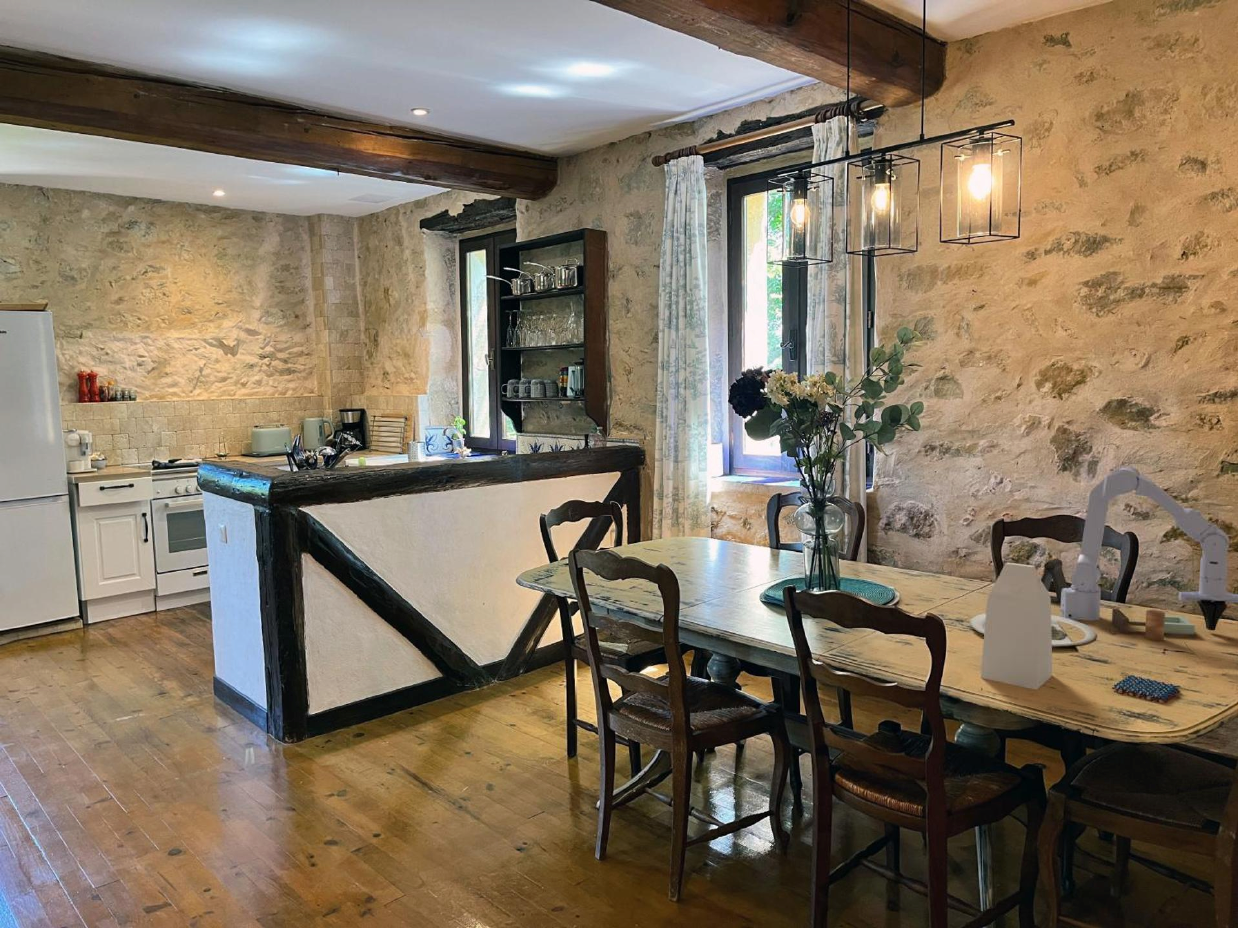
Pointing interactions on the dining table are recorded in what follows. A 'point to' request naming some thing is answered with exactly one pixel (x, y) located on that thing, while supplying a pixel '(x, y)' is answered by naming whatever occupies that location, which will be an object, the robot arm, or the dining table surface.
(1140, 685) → the woven mat
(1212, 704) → the dining table surface
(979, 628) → the plated food
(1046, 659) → the milk
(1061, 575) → the door stopper
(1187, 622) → the socket block
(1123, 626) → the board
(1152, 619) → the dowel
